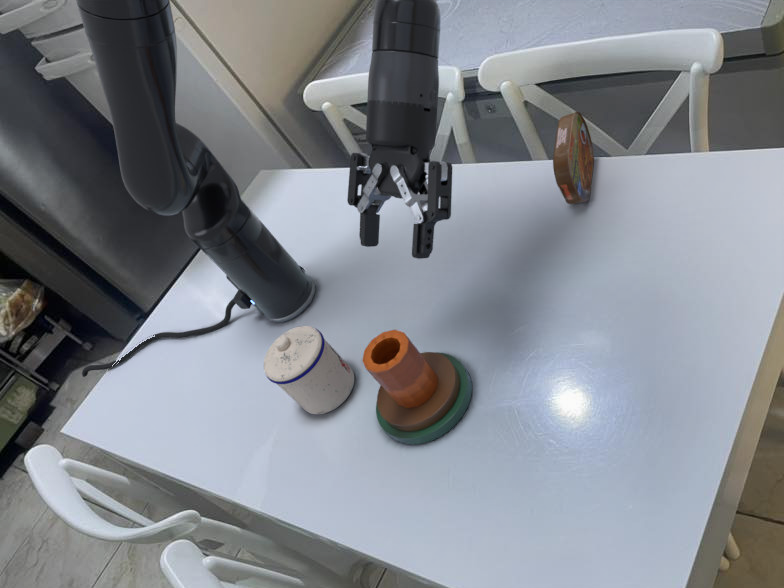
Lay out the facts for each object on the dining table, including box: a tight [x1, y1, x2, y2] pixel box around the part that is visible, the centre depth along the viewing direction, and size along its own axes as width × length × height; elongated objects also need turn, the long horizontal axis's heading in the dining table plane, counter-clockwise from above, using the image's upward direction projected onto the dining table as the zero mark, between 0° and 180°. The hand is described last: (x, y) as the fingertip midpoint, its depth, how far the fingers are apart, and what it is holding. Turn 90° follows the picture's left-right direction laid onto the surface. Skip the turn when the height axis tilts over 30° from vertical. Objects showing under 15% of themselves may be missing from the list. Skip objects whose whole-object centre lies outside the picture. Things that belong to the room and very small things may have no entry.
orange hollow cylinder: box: [362, 329, 438, 408], centre depth 85 cm, size 6×6×8 cm
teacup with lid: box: [263, 325, 355, 415], centre depth 95 cm, size 12×9×12 cm
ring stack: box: [375, 351, 473, 445], centre depth 89 cm, size 13×13×3 cm
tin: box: [552, 111, 595, 205], centre depth 101 cm, size 15×3×8 cm, turn 168°
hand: (394, 251), depth 80 cm, fingers open, 8 cm apart
